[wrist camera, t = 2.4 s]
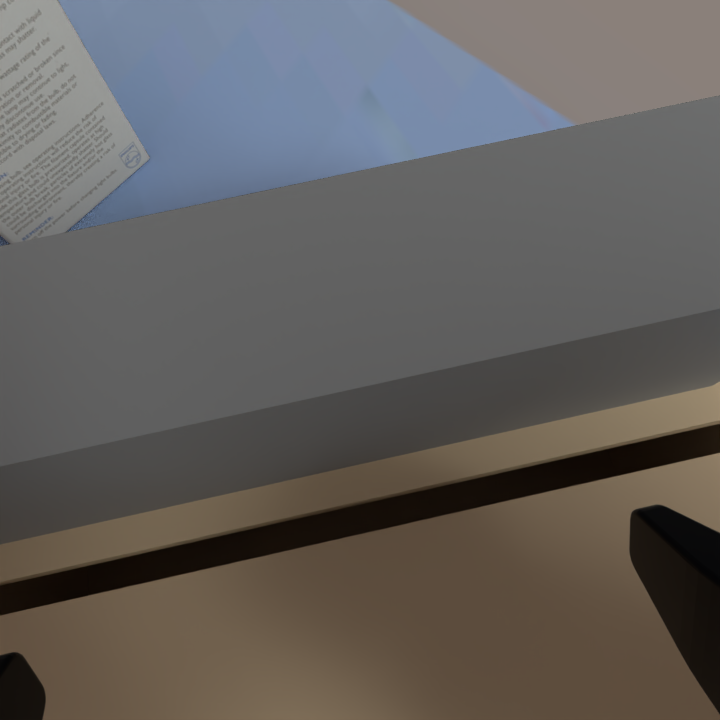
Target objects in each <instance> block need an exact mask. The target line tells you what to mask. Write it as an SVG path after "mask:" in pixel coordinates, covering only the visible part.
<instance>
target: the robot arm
mask: <svg viewBox="0 0 720 720" xmlns="http://www.w3.org/2000/svg"><path fill="white" fill-rule="evenodd" d="M629 553H630V558H631V562H632V564H633V566H634V569H635V570H636V572H637V574H638V576H639V578H640V580H641V582H642V583H643V585H644V587H645V589H646V591H647V593H648V594H649V596H650V598H651V600H652V602H653V604H654V606H655V607H656V609H657V611H658V613H659V615H660V617H661V618H662V620H663V622H664V624H665V626H666V628H667V630H668V631H669V633H670V635H671V637H672V639H673V641H674V642H675V644H676V646H677V648H678V650H679V652H680V653H681V655H682V657H683V659H684V660H685V662H686V664H687V666H688V667H689V669H690V671H691V672H692V674H693V675H694V677H695V678H696V680H697V681H698V683H699V685H700V686H701V688H702V689H703V691H704V692H705V694H706V695H707V696H708V698H709V699H710V701H711V702H712V704H713V705H714V707H715V708H716V710H717V711H718V713H719V714H720V532H718V531H716V530H714V529H711V528H709V527H707V526H705V525H703V524H701V523H699V522H697V521H695V520H693V519H691V518H689V517H687V516H685V515H683V514H681V513H679V512H676V511H674V510H672V509H670V508H668V507H666V506H663V505H660V504H656V505H651V506H647V507H642V508H638V509H635V510H633V511H632V513H631V516H630V537H629ZM45 704H46V694H45V690H44V687H43V685H42V683H41V682H40V680H39V678H38V677H37V675H36V674H35V672H34V671H33V669H32V668H31V666H30V665H29V663H28V662H27V660H26V659H25V657H24V656H23V655H22V654H20V653H18V652H11V653H7V654H3V655H0V720H43V716H44V710H45Z"/></svg>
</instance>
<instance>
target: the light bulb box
mask: <svg viewBox="0 0 720 720" xmlns="http://www.w3.org/2000/svg"><path fill="white" fill-rule="evenodd" d="M149 158H150V157H149V155H148V154H147V152H146V150H145V149H144V147H143V145H142V144H141V142H140V140H139V139H138V137H137V135H136V134H135V132H134V130H133V129H132V127H131V125H130V123H129V121H128V120H127V118H126V117H125V115H124V113H123V112H122V110H121V108H120V106H119V105H118V103H117V101H116V99H115V98H114V96H113V94H112V93H111V91H110V89H109V88H108V86H107V84H106V82H105V81H104V79H103V77H102V76H101V74H100V72H99V70H98V69H97V67H96V65H95V64H94V62H93V60H92V58H91V57H90V55H89V53H88V51H87V50H86V48H85V46H84V45H83V43H82V41H81V39H80V38H79V36H78V34H77V32H76V31H75V29H74V27H73V26H72V24H71V22H70V20H69V19H68V17H67V15H66V13H65V12H64V10H63V8H62V7H61V5H60V3H59V1H58V0H0V236H2V237H3V238H4V239H5V240H6V241H7V242H8V243H10V244H13V243H17V242H22V241H27V240H32V239H36V238H41V237H46V236H51V235H56V234H60V233H65V232H67V231H68V230H69V229H70V228H71V227H72V226H73V225H75V224H76V223H77V222H78V221H79V220H81V219H82V218H83V217H84V216H85V215H86V214H87V213H88V212H90V211H91V210H92V209H93V208H94V207H95V206H96V205H98V204H99V203H100V202H101V201H102V200H103V199H104V198H106V197H107V196H108V195H109V194H110V193H112V192H113V191H114V190H115V189H116V188H117V187H118V186H119V185H121V184H122V183H123V182H124V181H125V180H126V179H127V178H128V177H130V176H131V175H132V174H133V173H134V172H135V171H136V170H138V169H139V168H140V167H141V166H142V165H144V164H145V163H146V162H147V161H148V160H149Z"/></svg>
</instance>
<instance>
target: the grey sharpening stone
mask: <svg viewBox="0 0 720 720" xmlns="http://www.w3.org/2000/svg"><path fill="white" fill-rule="evenodd" d="M716 424H720V96H715V97H710V98H705V99H700V100H696V101H691V102H686V103H681V104H677V105H672V106H667V107H663V108H657V109H653V110H648V111H643V112H638V113H634V114H629V115H624V116H619V117H615V118H610V119H605V120H601V121H595V122H591V123H586V124H581V125H576V126H571V127H567V128H562V129H557V130H552V131H548V132H543V133H538V134H533V135H528V136H524V137H519V138H514V139H509V140H505V141H500V142H495V143H490V144H485V145H481V146H476V147H471V148H466V149H462V150H457V151H452V152H447V153H443V154H438V155H433V156H428V157H423V158H419V159H414V160H409V161H404V162H400V163H395V164H390V165H385V166H380V167H376V168H371V169H366V170H361V171H357V172H352V173H347V174H342V175H337V176H333V177H328V178H323V179H318V180H314V181H309V182H304V183H299V184H294V185H290V186H285V187H280V188H275V189H271V190H266V191H261V192H256V193H251V194H247V195H242V196H237V197H232V198H228V199H223V200H218V201H213V202H208V203H204V204H199V205H194V206H189V207H185V208H180V209H175V210H170V211H165V212H161V213H156V214H151V215H146V216H142V217H137V218H132V219H127V220H122V221H118V222H113V223H108V224H103V225H99V226H94V227H89V228H84V229H79V230H75V231H70V232H65V233H60V234H56V235H51V236H46V237H41V238H36V239H32V240H27V241H22V242H17V243H13V244H8V245H3V246H0V585H4V584H9V583H13V582H18V581H22V580H27V579H31V578H36V577H40V576H45V575H49V574H53V573H58V572H62V571H67V570H71V569H76V568H80V567H85V566H89V565H93V564H98V563H102V562H107V561H111V560H116V559H120V558H125V557H129V556H133V555H138V554H142V553H147V552H151V551H156V550H160V549H165V548H169V547H173V546H178V545H182V544H187V543H191V542H196V541H200V540H205V539H209V538H214V537H218V536H222V535H227V534H231V533H236V532H240V531H245V530H249V529H254V528H258V527H262V526H267V525H271V524H276V523H280V522H285V521H289V520H294V519H298V518H302V517H307V516H311V515H316V514H320V513H325V512H329V511H334V510H338V509H342V508H347V507H351V506H356V505H360V504H365V503H369V502H374V501H378V500H383V499H387V498H391V497H396V496H400V495H405V494H409V493H414V492H418V491H423V490H427V489H431V488H436V487H440V486H445V485H449V484H454V483H458V482H463V481H467V480H471V479H476V478H480V477H485V476H489V475H494V474H498V473H503V472H507V471H511V470H516V469H520V468H525V467H529V466H534V465H538V464H543V463H547V462H551V461H556V460H560V459H565V458H569V457H574V456H578V455H583V454H587V453H592V452H596V451H600V450H605V449H609V448H614V447H618V446H623V445H627V444H632V443H636V442H640V441H645V440H649V439H654V438H658V437H663V436H667V435H672V434H676V433H680V432H685V431H689V430H694V429H698V428H703V427H707V426H712V425H716Z"/></svg>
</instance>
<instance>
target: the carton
mask: <svg viewBox="0 0 720 720" xmlns="http://www.w3.org/2000/svg"><path fill="white" fill-rule="evenodd" d="M656 504H660V505H663V506H666V507H668V508H670V509H672V510H674V511H676V512H679V513H681V514H683V515H685V516H687V517H689V518H691V519H693V520H695V521H697V522H699V523H701V524H703V525H705V526H707V527H709V528H711V529H714V530H716V531H718V532H720V424H716V425H712V426H707V427H703V428H698V429H694V430H689V431H685V432H680V433H676V434H672V435H667V436H663V437H658V438H654V439H649V440H645V441H640V442H636V443H632V444H627V445H623V446H618V447H614V448H609V449H605V450H600V451H596V452H592V453H587V454H583V455H578V456H574V457H569V458H565V459H560V460H556V461H551V462H547V463H543V464H538V465H534V466H529V467H525V468H520V469H516V470H511V471H507V472H503V473H498V474H494V475H489V476H485V477H480V478H476V479H471V480H467V481H463V482H458V483H454V484H449V485H445V486H440V487H436V488H431V489H427V490H423V491H418V492H414V493H409V494H405V495H400V496H396V497H391V498H387V499H383V500H378V501H374V502H369V503H365V504H360V505H356V506H351V507H347V508H342V509H338V510H334V511H329V512H325V513H320V514H316V515H311V516H307V517H302V518H298V519H294V520H289V521H285V522H280V523H276V524H271V525H267V526H262V527H258V528H254V529H249V530H245V531H240V532H236V533H231V534H227V535H222V536H218V537H214V538H209V539H205V540H200V541H196V542H191V543H187V544H182V545H178V546H173V547H169V548H165V549H160V550H156V551H151V552H147V553H142V554H138V555H133V556H129V557H125V558H120V559H116V560H111V561H107V562H102V563H98V564H93V565H89V566H85V567H80V568H76V569H71V570H67V571H62V572H58V573H53V574H49V575H45V576H40V577H36V578H31V579H27V580H22V581H18V582H13V583H9V584H4V585H0V655H3V654H7V653H11V652H18V653H20V654H22V655H23V656H24V657H25V659H26V660H27V662H28V663H29V665H30V666H31V668H32V669H33V671H34V672H35V674H36V675H37V677H38V678H39V680H40V682H41V683H42V685H43V687H44V690H45V694H46V704H45V710H44V716H43V720H720V714H719V713H718V711H717V710H716V708H715V707H714V705H713V704H712V702H711V701H710V699H709V698H708V696H707V695H706V694H705V692H704V691H703V689H702V688H701V686H700V685H699V683H698V681H697V680H696V678H695V677H694V675H693V674H692V672H691V671H690V669H689V667H688V666H687V664H686V662H685V660H684V659H683V657H682V655H681V653H680V652H679V650H678V648H677V646H676V644H675V642H674V641H673V639H672V637H671V635H670V633H669V631H668V630H667V628H666V626H665V624H664V622H663V620H662V618H661V617H660V615H659V613H658V611H657V609H656V607H655V606H654V604H653V602H652V600H651V598H650V596H649V594H648V593H647V591H646V589H645V587H644V585H643V583H642V582H641V580H640V578H639V576H638V574H637V572H636V570H635V569H634V566H633V564H632V562H631V558H630V553H629V537H630V516H631V513H632V511H633V510H635V509H638V508H642V507H647V506H651V505H656Z"/></svg>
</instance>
